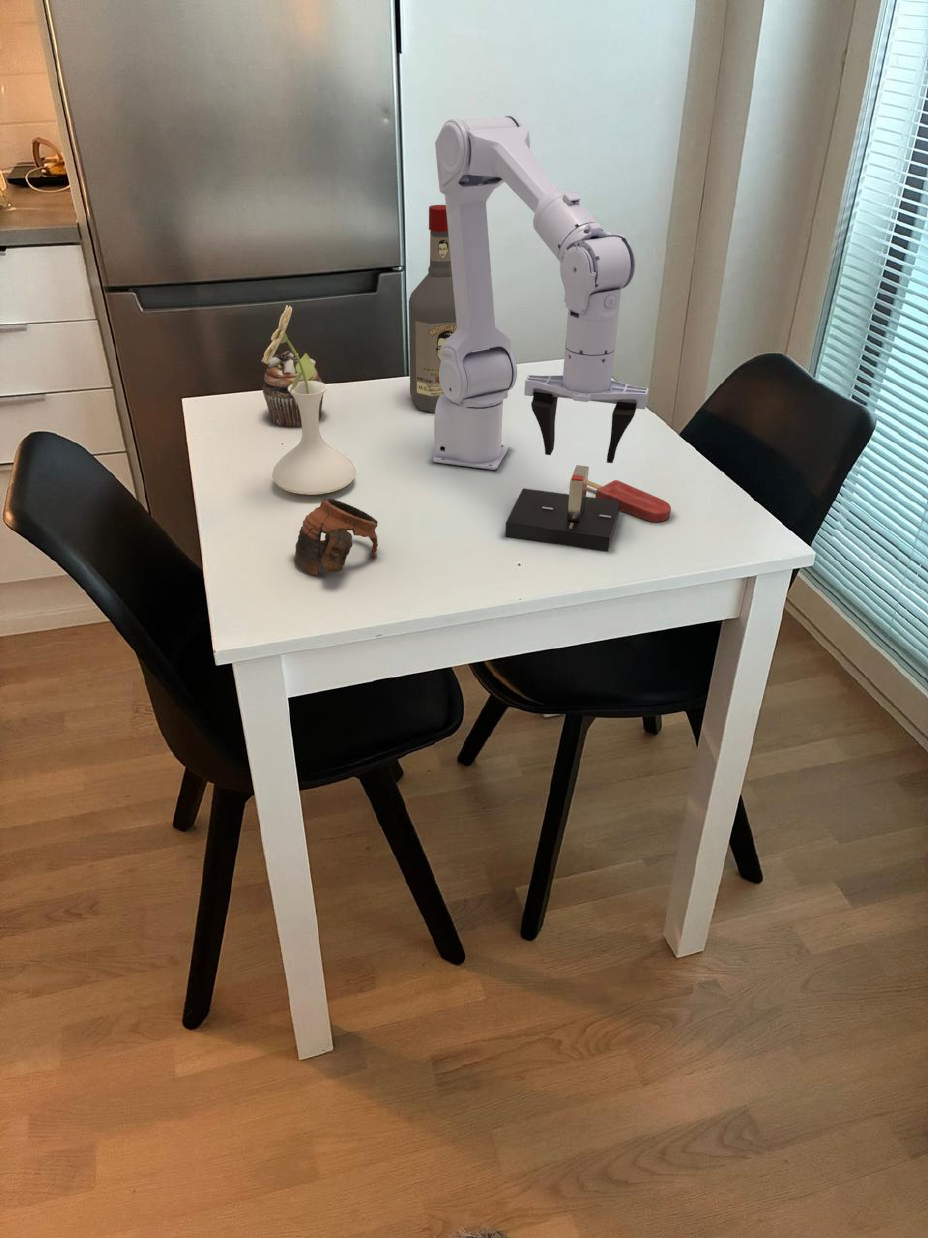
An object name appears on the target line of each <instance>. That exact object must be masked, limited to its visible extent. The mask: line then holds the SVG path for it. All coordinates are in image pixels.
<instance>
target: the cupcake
mask: <svg viewBox="0 0 928 1238" xmlns="http://www.w3.org/2000/svg"><path fill="white" fill-rule="evenodd" d="M304 354H305V353H303V354H300V355H299V353H297V355H298V357H299V359H301V358H302V357H303V356H304ZM307 355H308V357H309V358H310V360H311V362H312V363H313V365H314V367H315V366H316V360H314V358H311V356H310V355H309V354H307ZM297 363H298V361H297V359H296V357H295V355H294V353H293V352H292V350H291V349H290V350H288V351H284V352H282V353H281V354H274V355H273V357H272V358H271V360H270V361H269V363H268V364H267V366H268V367H267V368H266V371H265V373H264V375H263V380H264V383H263V384H262V389H261V390H262V394H263V397H264V400H265V403H266V406H267V409H268V413H269V417H270V420H271V422H272V423H274V424H275V425H278V426H281V427H285V428H286V427H287V428H300V427H301V428H302V421H301V415H300V410H299V407H298V404H297V402H296V400H295V398H294V397H293V395H292V394H291V393H290V392H289V391H288V387H289V386H290V385H291V384H293V381H294V379H295V377H296V376H297V375H298V373H297V371H296V365H297ZM301 381H304V379H302V378H300V380H299V382H301ZM307 381H317V382H321V383H323V380H322V378H321V377H320V376H319V372H318V370H317V369H316V373H315V375H314V376H313V377H311V378H310V379H309V380H307ZM323 400H324V395H323V396H322V398H321V401H320V406H319V421H320V420H321V418H322V409H323Z"/></svg>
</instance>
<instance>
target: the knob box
mask: <svg viewBox="0 0 928 1238" xmlns="http://www.w3.org/2000/svg"><path fill="white" fill-rule="evenodd" d="M568 501H569V493H563V492H562V493H561V492H553V491H545V490H539V489H531V488H524V487H523V488H522V489H521V491H520V494H519V496H518V497H517V499H516V501H515V503H514V505H513V507H512V509H511V511H510V514H509V515H508V518H507V520H506V521H505V531H504V533H505V535H504V536H505V537H508V538H515V539H521V540H528V541H529V540H530V541H534V542H535V541H536V542H543V543H550V544H557V545H563V546H568V547H569V546H570V547H577V548H583V549H591V550H598V551H605V552H609V550H610V547H611V543H612V539H613V535H614V533H615V530H616V526H617V524H618V523H617V522H618V519H619V515H620V501H614V500H607V499H599V498H595V497H591V496H586V502H585V507H584V510H583V513H582V516H581V518H580V521H572V520H567V513H568Z"/></svg>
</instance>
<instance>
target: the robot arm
mask: <svg viewBox="0 0 928 1238" xmlns="http://www.w3.org/2000/svg"><path fill="white" fill-rule="evenodd" d="M439 131H440V132H439V133H438V136H437V137H436V139H435V142H434V146H435V147H434V148H435V158H436V159H435V160H436V168H437V169H436V170H437V179H438V180H437V181H438V188H439V192H440V193H441V194H442V195H444V203H445V205H446V213H447V224H448V235H449V246H450V257H451V268H452V279H453V291H454V302H455V313H456V324H457V329H456V330H455V332H454V333H453V334H452V335H451V336H450V337H449V338H448V339H447V340H446V341H445V342H444V343H443V344H442V346H441V347H440V349H441V363H440V368H439V381H440V385H441V388H442V390H443V392H444V394H442V395H440V397H439V399H438V401H437V404H436V409H435V413H434V420H433V421H434V423H433V425H434V426H433V429H434V431H433V433H434V434H433V436H434V437H433V439H434V440H433V441H434V443H433V446H434V447H433V448H434V450H433V451H434V453H433V454H434V455H433V458H432V462H433V463H438V464H445V465H451V466H452V465H453V466H462V467H468V468H476V469H485V470H490V471H491V470H492V471H496V470H497V469H498V468H499V466H500V465H501V463H502V461H503V459H504V458H505V455H506V454H507V453H508V450H509V446H508V445H506V444H502V435H503V412H504V411H503V408H504V400H505V399H506V400H507V399H508V396H509V395H508V394H509V392H510V391H511V390H513V388H514V387H515V385H516V382H517V378H518V365H517V362H516V359H515V356H514V353H513V348H512V340H511V338H510V337H509V336H508V335H506V334H505V333H504V332H503V331H501V330H500V329H499V328H498V327H497V326H496V318H495V307H494V306H495V304H494V291H493V279H492V267H491V253H490V252H491V251H490V238H489V225H488V213H487V212H488V211H487V201H488V199H489V198H490V197H491V195H492V194H493V192H494V191H495V189H497V188H499V187H500V186H502V184H504V183H505V184H506V185H507V186H508V187H509V188H510V189H511V190H512V191H513V192H514V193H515V194H516V195H517V196H518V198H520V200H521V201H523V203H524V204H525V205H526V206H527V207H528V208H529V210H531V211H532V213H534V215H533V219H532V224H533V225H532V226H533V229H534V231H535V232H536V234H537V235H538V236H539V237H540V239H541V240H542V241H543V243H544V244H545V245H546V246H547V247H548V249H549V250H550V252H551V253H552V254H553V255H554V256H555V257H556V259H557V260H558V262H559V271H560V272H559V274H560V278H561V282H562V285H563V288H564V301H563V302H564V303H565V308H566V309H567V318H566V319H567V321H566V332H565V333H566V334H565V346H564V358H563V370H562V375H536V374H535V375H533V374H528V375H527V376H526V378H525V380H524V393H523V395H524V396H525V397H532V401H531V403H530V406H531V411H532V412H533V414H534V416H535V418H536V421H537V423H538V426H539V429H540V433H541V436H542V440H543V444H544V454H545V455H546V456H552V453H553V451H554V449H555V439H556V436H555V434H556V432H555V431H556V429H555V428H556V425H555V424H556V415H557V414H556V413H557V407H558V399H559V398H561V399H570V400H573V401H574V402H582V403H588V402H595V403H603V404H604V403H605V404H612V405H613V404H614V408H613V411H612V414H611V429H610V439H609V446H608V450H607V455H606V464H613V463H614V460H615V458H616V457H615V456H616V453H617V448H618V446H619V443H620V441H621V439H622V437H623V435H624V433H625V432H626V430H627V428H628V427H629V425H630V424H631V422H632V421H633V419H634V417H635V414H636V412H637V410H646V408H647V404H648V399H649V398H648V397H649V389H650V388H648V387H642V386H636V385H632V384H628V383H625V382H620V381H615V380H612V378H613V367H614V359H615V350H616V342H617V332H618V323H619V313H620V306H621V305H620V304H621V297H622V296H621V295H622V289H625V288H626V287H628V286H629V285H630V284H631V282H632V280H633V278H634V276H635V273H636V272H635V271H636V257H635V252H634V249H633V247H632V245H631V243H630V242H629V241H628V238H627V237H626V236H625V235H623V234H620V233H611V232H610V231H609V230H604V229H603V228H602V226H601V224H600V223H599V222H597V220H596V219H595V218H594V217H593V215H592V214H591V213H590V212H589V211H588V210H587V208H586V207H585V206H584V205H583V203H582V202H581V197H580V196H579V195H578V193H576V192H571V191H570V190H557V188H556V186H555V185H554V184H553V182H552V181H551V179H550V177H549V176H548V174H547V172H545V169H544V168H543V167H542V165H541V164H540V163H539V161H538V160H537V158H536V157H535V155H534V154H533V152H532V150H531V139H530V138H531V137H530V131H529V130H528V129H527V128H525V126H524V125H523V123H522V121H521V120H520V119H519V118H518V117H517V116H515V115H505V116H503V117H488V118H473V119H472V118H471V119H470V118H469V119H457V118H451V119H448V120H447V121H445V122H444V123H443V124H442V127H441V129H440V130H439ZM469 352H470V353H469Z"/></svg>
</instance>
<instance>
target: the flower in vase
mask: <svg viewBox="0 0 928 1238" xmlns="http://www.w3.org/2000/svg"><path fill="white" fill-rule="evenodd" d="M292 312H293V306H291V305H289V306H288V304H286V305H285V307H284V311H283V313H282V314H281V315H280V318H279V322H278V328H277V329H275V331H274V332H273V333H272V335H271V337H270V340H271V341H272V342H271V343H270V344H269V346H268V347H267V348H266V350H265V351H264V353H263V357H262V359H261V363H263V364H265V365H268V363H269V361H270V360H271V358H272V357H273V355H275V353H276V352H277V350H278V348H279V346H280V344H285V343H286V344H287V345H288V347H289V348H290V350H292V352H293V353H294V355H295V357H296V359H297V361H298V363H297V365H296V371H297V373H298V375H297V376H296V377H295V379H294V381H293V384H291V385H290V386H289V387H288V391H289V392H290V393H291V394H292V395H293V397H294V398H295V400H296V402H297V404H298V407H299V410H300V415H301V421H302V427H301V439H300V441H299V442H298V444H297V445H296V446H295V447H293V448H292V449H290V450H289V451H288V452H287V453H285V455H283V456H282V457H281V458H280V459H279V460H278V461H277V462H276V464H275V465H274V467H273V470H272V473H271V478H272V480H273V482H274V483H275V484H276V485H277V487H279V488H281V489H282V490H284V491H286V492H289V493H293V494H299V495H312V496H313V495H323V494H329V493H333V492H337V491H340V490H342V489H344V488H345V487H347V486H349V485H350V484H351V483H352V482H353V480H354V479H355V477H356V475H357V469H356V466H355V464H354V462H353V461H352V460H351V459H350V458H349V457H348V456H347V455H346V454H344V453H343V452H341V451H340V450H338V449H336V448H335V447H333V446H331V445H330V444H329V443H326V441H325V440H324V439H323V438H322V435H321V431H320V420H319V406H320V401H321V398H322V396H323V397H324V394H325V392H326V391H327V389H328V386H327V384H326V383H324V382H322V383H321V382H317V381H307V380H309V379H310V378H311V377H313V376H314V375H315V373H316V370H317V369H316V367H315V366H314V365H313V363H312V362H311V360H310V359H311V357H310V358H309V357H308V355H309V354H308V353H307V352H306V353H303V354H304V356H303V357H302V358H301V359H299V357H298V355H299V354H298V352H297V351H296V349H295V348H294V346H293V344H292V343H291V341H290V340H289V339H288V335H287V333H286V330H287V328H288V325H289V322H290V320H291V316H292ZM297 354H298V355H297ZM300 378H302V379H304V381H301V382H299V380H300Z"/></svg>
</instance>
